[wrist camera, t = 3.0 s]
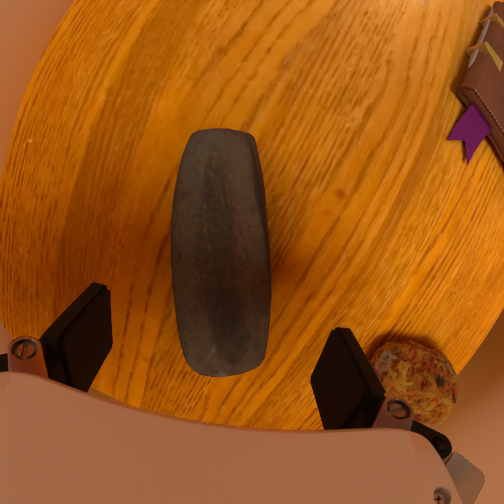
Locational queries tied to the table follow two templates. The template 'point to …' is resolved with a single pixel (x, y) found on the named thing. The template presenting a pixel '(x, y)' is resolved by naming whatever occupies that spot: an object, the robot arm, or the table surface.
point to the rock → (417, 378)
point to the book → (484, 87)
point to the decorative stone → (221, 254)
